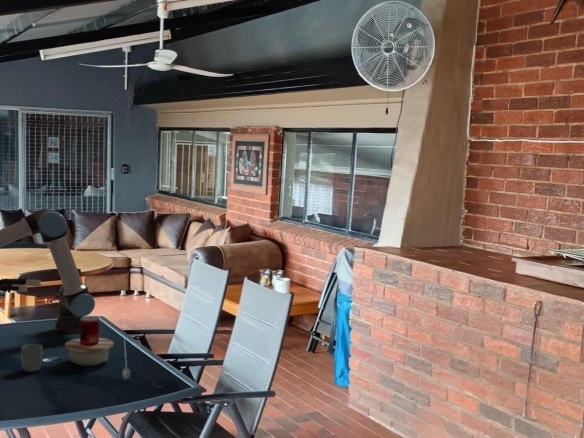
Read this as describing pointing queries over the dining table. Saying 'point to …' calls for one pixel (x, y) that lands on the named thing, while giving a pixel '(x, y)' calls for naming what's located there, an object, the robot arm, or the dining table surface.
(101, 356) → the bowl
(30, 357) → the cup
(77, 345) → the bowl cover
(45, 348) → the dining table surface
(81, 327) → the canned food
